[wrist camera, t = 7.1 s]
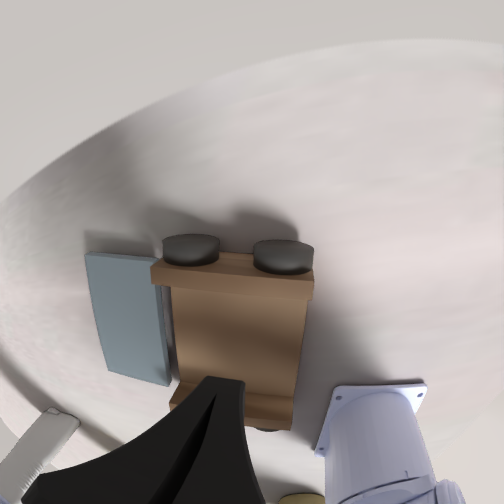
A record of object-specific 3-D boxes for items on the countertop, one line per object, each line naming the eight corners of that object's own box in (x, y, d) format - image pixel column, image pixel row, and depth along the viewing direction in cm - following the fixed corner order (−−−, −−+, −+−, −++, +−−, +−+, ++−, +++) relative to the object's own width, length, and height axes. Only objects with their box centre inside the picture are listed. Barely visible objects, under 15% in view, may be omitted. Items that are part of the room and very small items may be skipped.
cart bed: (290, 403, 21) (288, 438, 17) (187, 389, 22) (172, 420, 18) (312, 242, 17) (316, 261, 13) (175, 232, 18) (148, 248, 14)
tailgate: (168, 386, 20) (108, 370, 21) (173, 377, 21) (114, 362, 22) (153, 262, 17) (84, 254, 18) (161, 256, 18) (94, 250, 19)
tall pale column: (51, 425, 30) (-19, 513, 9) (35, 405, 29) (-42, 491, 8) (90, 431, 27) (10, 546, 6) (71, 408, 26) (-20, 523, 6)
